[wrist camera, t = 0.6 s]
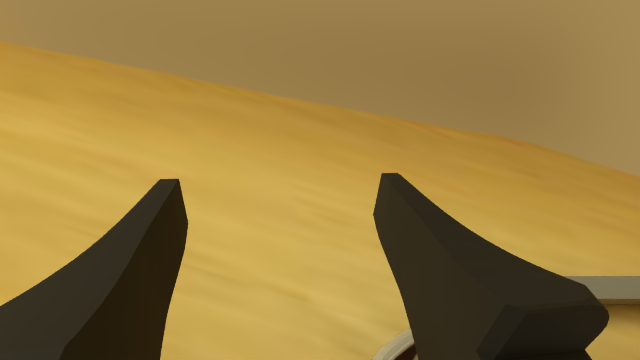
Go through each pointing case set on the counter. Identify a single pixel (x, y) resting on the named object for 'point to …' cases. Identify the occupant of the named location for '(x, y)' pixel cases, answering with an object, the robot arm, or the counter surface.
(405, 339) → the food container
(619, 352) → the counter surface
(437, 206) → the robot arm
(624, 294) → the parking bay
